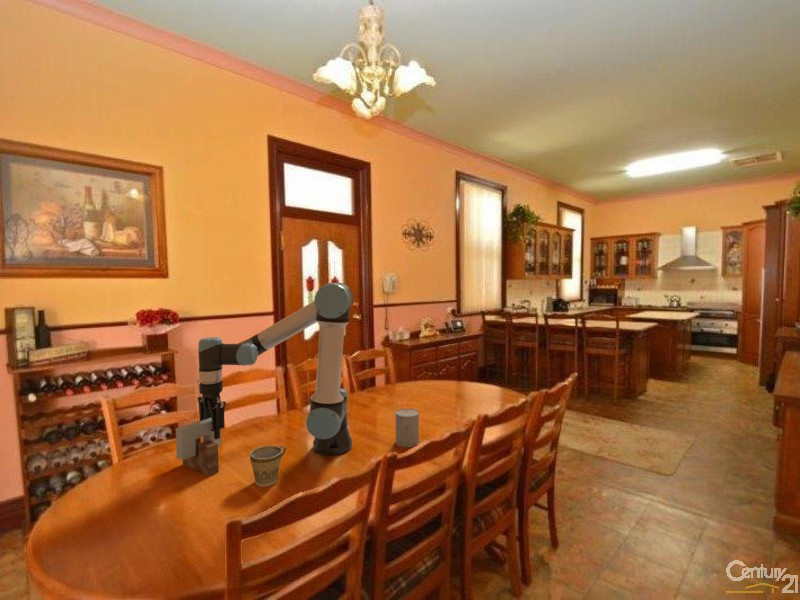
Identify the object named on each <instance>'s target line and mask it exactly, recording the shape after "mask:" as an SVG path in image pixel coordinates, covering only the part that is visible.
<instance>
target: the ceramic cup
mask: <svg viewBox="0 0 800 600" xmlns="http://www.w3.org/2000/svg"><path fill="white" fill-rule="evenodd" d="M286 449H287V447H285V446H284V445H282V446H279V445H278V446H277V445H263V446H260V447H256V448H254V449H253V450H251V451H250V452H249V457H250V458H249V459H250V463H251V467H252V471H253V476H254V481H255V485H256V486H258V487H260V488H263V487H270V486H272V485H275V484H276V483H277V481H278V477H279V476H278V475H279V469H280V465H281V461H282V458H283V456H284V455H285V453H286Z"/></svg>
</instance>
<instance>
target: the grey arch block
mask: <svg viewBox="0 0 800 600" xmlns="http://www.w3.org/2000/svg"><path fill="white" fill-rule="evenodd" d="M212 429H213V427H212V419H211V418H208V419H205V420H201V421H200V420H199V421H196V422H193V423H189V424H186V425H183V426H180V427H175V438H176V439H175V441H176V443H175V444H176V459H179V460H181V461H183V460H184V459H187V458H189V457H192V456H195V455H196V440H195V439H198V438H201V439H202V438H203V439H202V442H204V441H207V440H210V441H211V430H212ZM221 446H222V429H220V446H219V447H221Z"/></svg>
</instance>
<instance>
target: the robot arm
mask: <svg viewBox="0 0 800 600" xmlns="http://www.w3.org/2000/svg"><path fill="white" fill-rule="evenodd" d="M354 297H355V296H354V292H353V290H352V289H351V288H350V287H349V286H348V285H347V284H345V283H344V282H343V283H342V282H329V283H326V284H325V283H324V285H322V286H321V287H320V288H319V289H318V290H317V291H316V293H315V296H314V300H313V301H312V302H310V303H308V304H306V305H304V306H303V307H301V308H299V309H298V310H296V311H294V312H293V313H291V314H289V315H287V316H286V317H284V318H282V319H280V320H279V321H277V322H275V323H273V324H272V325H270V326H268V327H267V328H265V329H263V330H262V331H260V332H258V333H256V334H255V335H252V336H250V337H249V338H247V339H245V340H242V341H239V342H238V343H223V340H222V338H221V337H217V336H214V337H213V336H212V337H211V336H210V337H203V338H201V339H199V341H198V348H197V349H198V351H197V354H198V382H199V383H198V389H199V394H201V395H202V396H198V397H197V401H198V411H199V414H198V415H199V421H201V420H205V419H208V418H211V419H212V427H213V429H212V430H211V441H213V442H215V443H218V448H219V447H221V446H220V429H221V430H222V429H224V428H225V407H226V401H225V400H224V401H222V400H221V396H220V395H221V393H222V392H223V387H224V385H223V381H222V380H223V366H243V367H244V366H245V367H246V366H253V365H255V363H256V361H257V360H258V357H260V356H261V355H262V354H264V353H266V352H268V351H269V350H270V349H272V348H274V347H276V346H277V345H279V344H281V343H283V342H285V341H286V340H289V339H290V338H292V337H293V336H295V335H296V334H298V333H300V332H302V331H304V330H305V329H308V328H309V327H311V326H313V325H315V324H317V325H319V333H318V334H319V335H318V348H317V349H318V350H317V351H318V353H317V360H316V363H317V366H316V376H315V377H316V379H315V392H314V393H313V394H311V396H310V399H309V400H310V402H309V413H308V414H307V417H306V422H305V423H306V424H305V425H306V426H305V427H306V429H307V430H308V432H309V434H311V435H312V437H313V438H314V439H313V441H312V450H313V452H314V453H316V454H318V455H322V456H337V455H341V454H344V453H347V452H348V451H350V450H351V449H352V448H353V440H352V437H351V434H350V430H349V428H348V399H349V396H348V391H347V390H346V389H345V388H341V384H342V383H341V382H342V365H343V354H344V342H345V341H344V340H345V339H344V338H345V328H346V326H347V325H349V324H350V316H351V315H350V314H351V308H352V306H353V303H354Z"/></svg>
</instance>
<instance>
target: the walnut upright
mask: <svg viewBox="0 0 800 600" xmlns="http://www.w3.org/2000/svg"><path fill="white" fill-rule="evenodd" d="M201 439H202V437H201V438H198V439H195V440H196V455H195V456H192V457H189V458H187V459H184V460H182V465H183V466H185V467H188V468H190V469H191V470H194V471H197V472H199V473H201V474H203V475H205V476H207V477H210V476H213V475H215V473H216V474H218V473H219V471H220V470H219V469H220V468H219V466H220V465H219V447H218V443H215V442H213V441H210V440H207V441H204V442H203V441H202V442H201Z"/></svg>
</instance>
